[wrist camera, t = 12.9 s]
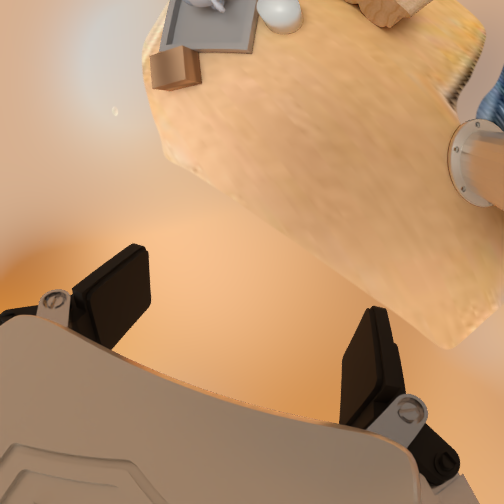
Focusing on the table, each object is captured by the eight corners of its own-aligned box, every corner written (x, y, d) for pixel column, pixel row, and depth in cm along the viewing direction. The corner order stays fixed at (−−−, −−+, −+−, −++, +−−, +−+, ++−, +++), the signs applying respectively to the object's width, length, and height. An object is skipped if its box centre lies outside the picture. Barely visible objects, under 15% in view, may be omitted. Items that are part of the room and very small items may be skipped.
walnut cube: (198, 52, 31) (182, 45, 27) (202, 83, 33) (185, 79, 29) (168, 61, 33) (149, 56, 28) (171, 91, 35) (152, 88, 30)
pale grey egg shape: (305, 7, 25) (301, -8, 21) (300, 36, 27) (296, 24, 23) (268, 3, 26) (259, -11, 22) (262, 32, 28) (253, 20, 24)
